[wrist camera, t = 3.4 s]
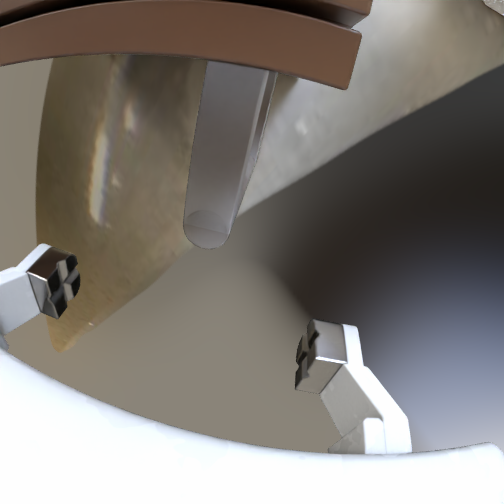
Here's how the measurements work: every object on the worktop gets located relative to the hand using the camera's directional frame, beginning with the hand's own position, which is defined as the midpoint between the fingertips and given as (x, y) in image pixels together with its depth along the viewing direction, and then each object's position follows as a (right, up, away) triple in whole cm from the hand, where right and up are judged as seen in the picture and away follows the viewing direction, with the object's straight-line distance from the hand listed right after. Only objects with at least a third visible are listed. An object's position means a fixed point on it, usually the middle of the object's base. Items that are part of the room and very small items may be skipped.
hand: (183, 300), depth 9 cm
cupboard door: (-3, +16, +14) cm, 21 cm away
